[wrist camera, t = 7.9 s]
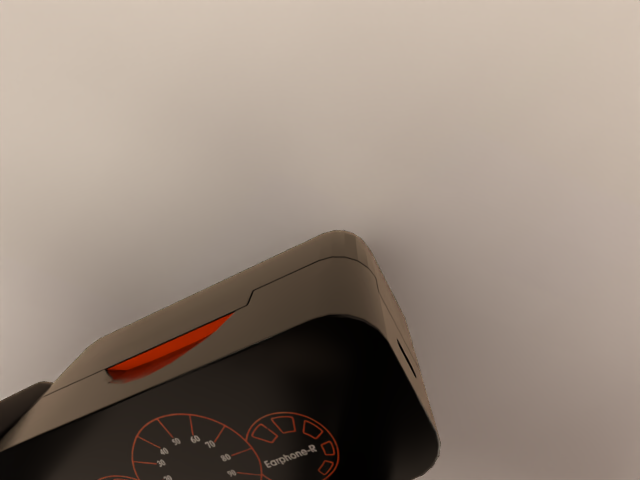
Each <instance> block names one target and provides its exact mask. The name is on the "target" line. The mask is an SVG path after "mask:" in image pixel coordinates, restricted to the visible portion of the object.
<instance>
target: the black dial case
mask: <svg viewBox="0 0 640 480" xmlns="http://www.w3.org/2000/svg"><path fill="white" fill-rule="evenodd" d="M440 446H441V442H440V439H439V435H438V432H437V428H436V424H435V421H434V417H433V414H432V410H431V407H430V403H429V400H428V396H427V393H426V389H425V386H424V382H423V379H422V375H421V372H420V368H419V365H418V361H417V358H416V354H415V351H414V347H413V344H412V340H411V336H410V333H409V329H408V326H407V323H406V319H405V317H404V315H403V313H402V311H401V309H400V307H399V305H398V303H397V301H396V299H395V297H394V295H393V293H392V291H391V290H390V288H389V286H388V284H387V282H386V280H385V278H384V276H383V274H382V272H381V270H380V268H379V266H378V264H377V262H376V260H375V258H374V256H373V254H372V252H371V251H370V249H369V248H368V246H367V245H366V244H365V242H364V241H363V240H362V239H361V238H360V237H358V236H357V235H355V234H354V233H351V232H347V231H341V230H333V231H330V232H326V233H323V234H321V235H319V236H316V237H314V238H312V239H310V240H308V241H306V242H304V243H302V244H299V245H297V246H295V247H293V248H291V249H289V250H287V251H285V252H282V253H280V254H278V255H276V256H274V257H272V258H270V259H268V260H265V261H263V262H261V263H259V264H257V265H255V266H253V267H251V268H248V269H246V270H244V271H242V272H240V273H238V274H236V275H234V276H231V277H229V278H227V279H225V280H223V281H221V282H219V283H217V284H214V285H212V286H210V287H208V288H206V289H204V290H202V291H200V292H197V293H195V294H193V295H191V296H189V297H187V298H185V299H183V300H180V301H178V302H176V303H174V304H172V305H170V306H168V307H166V308H163V309H161V310H159V311H157V312H155V313H153V314H151V315H149V316H146V317H144V318H142V319H140V320H138V321H136V322H134V323H132V324H129V325H127V326H125V327H123V328H121V329H119V330H117V331H115V332H112V333H110V334H108V335H106V336H104V337H102V338H100V339H98V340H97V341H96V342H94V343H93V344H92V345H90V346H89V347H87V348H86V349H85V350H84V351H83V353H82V354H81V355H80V356H79V357H78V358H77V359H76V360H75V361H74V362H73V363H72V364H71V365H70V366H69V367H68V368H67V369H66V370H65V371H64V372H63V374H62V375H61V376H60V377H59V378H58V379H57V380H56V381H55V382H54V383H53V384H52V385H51V386H50V387H49V388H48V389H47V390H46V391H45V392H44V393H43V395H42V396H41V397H40V398H39V399H38V400H37V401H36V402H35V403H34V404H33V405H32V406H31V407H30V408H29V409H28V410H27V411H26V412H25V413H24V415H23V416H22V417H21V418H20V419H19V420H18V421H17V422H16V423H15V424H14V425H13V426H12V427H11V428H10V429H9V430H8V431H7V432H6V433H5V434H4V436H3V437H2V438H1V439H0V480H413V479H415V478H417V477H419V476H421V475H423V474H424V473H426V472H427V471H428V470H429V469H430V468H432V467H433V465H434V464H435V462H436V460H437V459H438V457H439V454H440Z"/></svg>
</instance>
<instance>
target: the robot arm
mask: <svg viewBox="0 0 640 480" xmlns="http://www.w3.org/2000/svg"><path fill="white" fill-rule="evenodd" d="M52 384H53V383H52V382H46V381H43V382H38V383H36V384H34V385H32V386H30V387H28V388H26V389H24V390H22V391H20V392H18V393H16V394H14V395H12V396H10V397H8V398H5V399H3V400H1V401H0V439H1V438H2V437H3V436H4V434H5V433H6V432H7V431H8V430H9V429H10V428H11V427H12V426H13V425H14V424H15V423H16V422H17V421H18V420H19V419H20V418H21V417H22V416H23V415H24V413H25V412H26V411H27V410H28V409H29V408H30V407H31V406H32V405H33V404H34V403H35V402H36V401H37V400H38V399H39V398H40V397H41V396H42V395H43V393H44V392H45V391H46V390H47V389H48V388H49V387H50V386H51V385H52Z"/></svg>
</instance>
